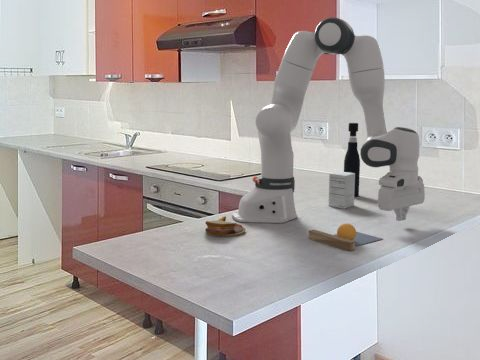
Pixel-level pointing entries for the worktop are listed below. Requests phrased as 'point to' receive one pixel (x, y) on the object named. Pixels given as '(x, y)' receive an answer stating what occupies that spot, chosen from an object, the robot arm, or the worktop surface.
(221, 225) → the toy sandwich meal
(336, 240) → the rail
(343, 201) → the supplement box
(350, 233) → the ball
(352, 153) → the wine bottle
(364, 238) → the slate square
